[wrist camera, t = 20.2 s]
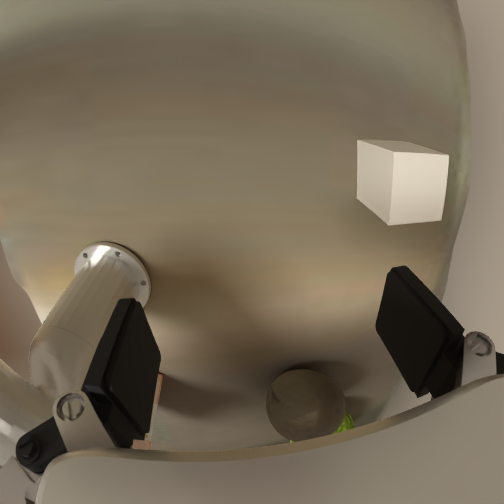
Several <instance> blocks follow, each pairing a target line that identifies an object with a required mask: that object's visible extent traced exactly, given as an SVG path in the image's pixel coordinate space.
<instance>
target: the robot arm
mask: <svg viewBox="0 0 504 504" xmlns="http://www.w3.org/2000/svg"><path fill="white" fill-rule="evenodd" d="M74 274H75V278H74V279H73V280H72V282H71V283H70V284H69V286H68V287H67V288H66V290H65V291H64V293H63V294H62V296H61V297H60V298H59V300H58V301H57V303H56V304H55V306H54V307H53V309H52V310H51V312H50V313H49V315H48V316H47V318H46V319H45V321H44V322H43V324H42V326H41V328H40V329H39V331H38V332H37V334H36V335H35V337H34V339H33V341H32V343H31V347H30V353H29V368H30V375H31V381H32V385H31V384H30V383H28V382H26V381H25V380H24V379H23V378H22V377H20V376H19V375H18V374H17V373H15V372H14V371H13V370H12V369H11V368H10V367H9V366H7V364H5V363H4V362H3V361H2V360H1V359H0V504H504V354H501V353H497V352H495V346H494V343H493V341H492V340H491V339H490V338H489V337H488V336H487V335H485V334H483V333H481V332H476V331H474V332H470V333H468V334H467V335H466V337H464V336H463V335H462V334H463V332H464V328H463V327H462V326H461V325H460V323H459V322H458V321H457V320H456V319H455V318H454V316H453V315H452V314H451V313H450V312H449V311H448V310H447V309H446V308H445V306H444V305H443V304H442V303H441V302H440V301H439V300H438V298H437V297H436V296H435V295H434V294H433V293H432V292H431V291H430V290H429V289H428V288H427V287H426V286H425V285H424V284H423V282H422V281H421V280H420V279H419V278H418V277H417V276H416V275H415V274H414V273H413V272H412V271H411V270H410V269H409V268H408V267H407V266H399V267H393V268H392V269H391V270H390V272H388V274H387V277H386V282H385V287H384V291H383V296H382V300H381V304H380V308H379V312H378V316H377V320H376V331H377V333H378V334H379V336H380V338H381V339H382V341H383V343H384V345H385V346H386V348H387V350H388V351H389V353H390V355H391V357H392V358H393V360H394V362H395V363H396V365H397V367H398V369H399V371H400V372H401V374H402V376H403V378H404V379H405V381H406V383H407V385H408V387H409V389H410V390H411V391H412V392H415V394H416V395H417V398H419V397H421V396H423V395H426V394H428V393H429V392H430V393H431V395H432V397H431V401H429V402H426V403H424V404H422V405H419V406H417V407H415V408H412V409H410V410H407V411H405V412H402V413H400V414H397V415H394V416H391V417H389V418H386V419H383V420H380V421H377V422H374V423H370V424H367V425H364V426H361V427H357V428H354V429H350V430H347V431H343V432H339V433H335V434H331V435H327V436H323V437H318V438H313V439H309V440H303V441H298V442H292V443H286V444H280V445H273V446H266V447H257V448H248V449H236V450H220V451H158V450H142V449H133V447H132V445H133V440H143V441H144V440H145V433H149V431H150V425H151V418H152V410H153V404H154V397H155V391H156V384H157V378H158V373H159V367H160V361H161V355H160V351H159V348H158V346H157V344H156V341H155V339H154V336H153V334H152V331H151V329H150V326H149V324H148V321H147V318H146V316H145V313H144V310H143V307H144V306H145V305H146V303H147V301H148V299H149V296H150V292H151V282H150V278H149V275H148V272H147V270H146V268H145V267H144V265H143V264H142V263H141V261H140V260H139V259H138V258H137V257H136V256H135V255H134V254H133V253H131V252H130V251H129V250H127V249H125V248H124V247H122V246H120V245H117V244H114V243H109V242H97V243H94V244H91V245H89V246H87V247H86V248H85V249H84V250H83V251H82V252H81V253H80V254H79V256H78V257H77V259H76V262H75V267H74Z"/></svg>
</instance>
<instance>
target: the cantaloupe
mask: <svg viewBox="0 0 504 504" xmlns="http://www.w3.org/2000/svg"><path fill="white" fill-rule="evenodd" d="M266 409H267V414H268V417H269V419H270V422H271V424H272V425H273V427H274V428H275V429H276V431H277V432H278V433H279V434H280V435H282V436H283V437H285V438H287V439H289V440H291V441H294V442H298V441H303V440H309V439H313V438H318V437H323V436H327V435H331V434H333V433H334V432H335V431H336V430H337V429H338V428H339V426H340V425H341V424H342V422H343V420H344V417H345V412H346V400H345V397H344V395H343V393H342V391H341V389H340V388H339V386H338V385H337V384H336V383H335V382H334V381H333V380H332V379H331V378H329V377H328V376H326V375H324V374H322V373H319V372H317V371H313V370H308V369H295V370H291V371H287V372H285V373H283V374H281V375H279V376H278V377H277V378H276V379H275V380H274V381H273V383H272V384H271V386H270V389H269V391H268V395H267V401H266Z"/></svg>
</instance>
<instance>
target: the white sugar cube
mask: <svg viewBox="0 0 504 504" xmlns="http://www.w3.org/2000/svg"><path fill="white" fill-rule="evenodd" d="M448 164H449V155H447V154H444V153H441V152H438V151H435V150H432V149H429V148H426V147H423V146H420V145H417V144H414V143H410V142H405V141H386V140H357V199H358V200H359V201H361V202H362V203H363V204H364V205H365V206H367V207H368V208H369V209H370V210H371V211H373V212H374V213H375V214H376V215H377V216H378V217H380V218H381V219H382V220H383V221H384V222H385V223H386V224H387V225H398V224H409V223H420V222H431V221H441V219H442V213H443V207H444V200H445V193H446V185H447V175H448Z"/></svg>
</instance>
